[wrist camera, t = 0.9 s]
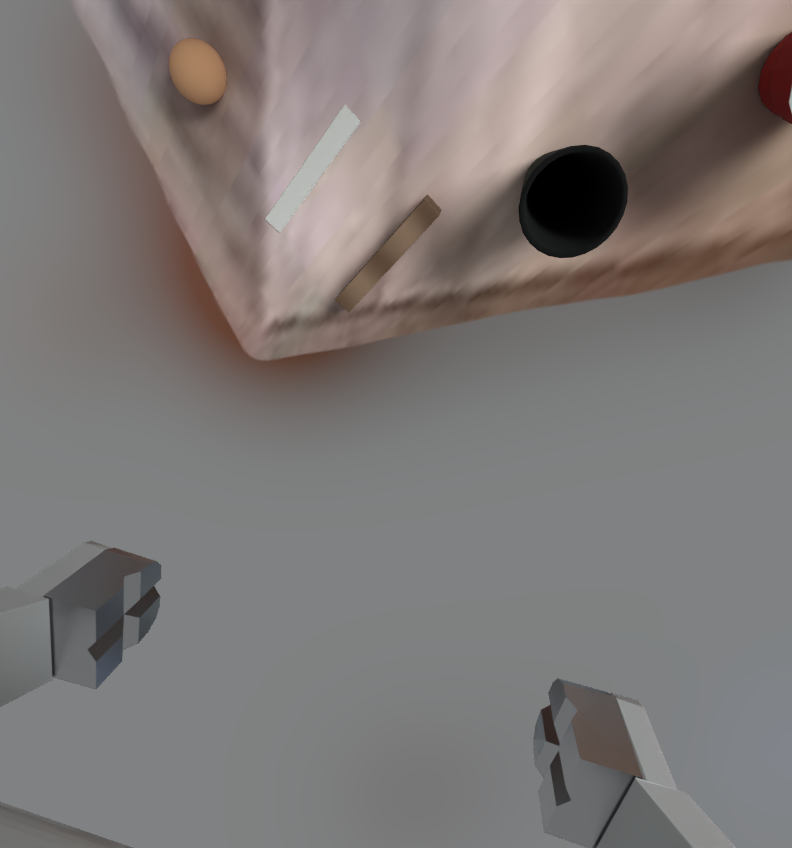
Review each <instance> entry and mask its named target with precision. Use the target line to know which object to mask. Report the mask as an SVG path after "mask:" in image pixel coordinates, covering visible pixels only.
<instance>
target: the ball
mask: <svg viewBox="0 0 792 848" xmlns="http://www.w3.org/2000/svg"><path fill="white" fill-rule="evenodd" d="M169 70H170V75H171V78H172V80H173V82H174V84H175V86H176V88H177V89H178V90H179V92H180V93H181V94H182V95H183V96H184V97H186V98H187V99H188V100H190V101H192V102H194V103H196V104H200V105H209V104H213V103H215V102H216V101H218V100H219V99H220V98H221V97H222V95H223V94H224V91H225V89H226V84H227V75H226V70H225V66H224V64H223V61H222V59H221V58H220V56H219V55H218V53H217V52H216V51H215V50H214V49H213V48H212V47H211V46H210V45H209V44H207V43H206V42H204V41H202V40H199V39H195V38H188V39H184V40H181V41H180V42H178V43H177V44H176V45H175V46H174V47H173V49H172V51H171V54H170V57H169Z"/></svg>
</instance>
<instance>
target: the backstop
mask: <svg viewBox="0 0 792 848" xmlns="http://www.w3.org/2000/svg"><path fill="white" fill-rule="evenodd" d="M440 212H441V209H440V208H439V207H438V206H437V204H436V203H435V202H434V201H433V200H432V199H431V198H430V197H429V196H428V195H427V196H426V197H425V198H424V200H423V201H422V202H421V203H420V204H419V205H418V206H417V207H416V209H415V210H414V211H413V212H412V213H411V214H410V215H409V216H408V218H407V219H406V220H405V221H404V222H403V223H402V224H401V225H400V227H399V228H398V229H397V230H396V231H395V232H394V233H393V234H392V236H391V237H390V238H389V239H388V240H387V241H386V242H385V243H384V245H383V246H382V247H381V248H380V249H379V250H378V251H377V252H376V254H375V255H374V256H373V257H372V258H371V259H370V260H369V261H368V263H367V264H366V265H365V266H364V267H363V268H362V269H361V270H360V272H359V273H358V274H357V275H356V276H355V277H354V278H353V279H352V281H351V282H350V283H349V284H348V285H347V286H346V287H345V288H344V290H343V291H342V292H341V293H340V294H339V296H338V297H337V298H336V299H335V300H336V301H337V302H338V303H339V304H340V305H341V306H342V307H343V308H344V309H346V310H347V311H348V312H350V311H351V310H352V308H353V307H354V306H355V305H356V304H357V303H358V302H359V301H360V300H361V299H362V298H363V297H364V296H365V295H366V293H367V292H368V291H369V290H370V289H371V288H372V287H373V286H374V285H375V284H376V283H377V282H378V281H379V279H380V278H381V277H382V276H383V275H384V274H385V273H386V272H387V271H388V270H389V269H390V268H391V267H392V265H393V264H394V263H395V262H396V261H397V260H398V259H399V258H400V257H401V256H402V255H403V254H404V253H405V252H406V250H407V249H408V248H409V247H410V246H411V245H412V244H413V243H414V242H415V241H416V240H417V239H418V238H419V236H420V235H421V234H422V233H423V232H424V231H425V230H426V229H427V228H428V227H429V226H430V225H431V224H432V223H433V221H434V220H435V219H436V218H437V217H438V216H439V215H440Z"/></svg>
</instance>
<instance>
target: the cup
mask: <svg viewBox="0 0 792 848" xmlns="http://www.w3.org/2000/svg"><path fill="white" fill-rule="evenodd" d="M627 195H628V185H627V181H626V176H625V173H624V171H623V169H622V167H621V165H620V163H619V162H618V161H617V160H616V159H615V158H614V157H613V156H612V155H611V154H610V153H608V152H606V151H604V150H602V149H601V148H599V147H594V146H588V145H579V146H570V147H567V148H563V149H559V150H556V151H552V152H549V153H547V154H544V155H543V156H541V157H540V158H538V159H537V160H536V161H535V162H534V163H533V164H532V165H531V167H530V168H529V170H528V171H527V174H526V176H525V179H524V183H523V188H522V192H521V198H520V204H519V221H520V224H521V228H522V231H523V233H524V235H525V237H526V238H527V240H528V241H529V243H530V244H531V245H532V246H534V247H535V248H536V249H537V250H538V251H540V252H542V253H544V254H546V255H548V256H553V257H558V258H569V257H575V256H579V255H582V254H585V253H587V252H589V251H591V250H593V249H595V248H597V247H598V246H599V245H600V244H602V243H603V242H604V241H605V240H607V239H608V238H609V236H610V235H611V234H612V233H613V231H614V230H615V229H616V228H617V226H618V224H619V222H620V220H621V218H622V217H623V214H624V211H625V207H626V204H627Z"/></svg>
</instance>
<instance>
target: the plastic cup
mask: <svg viewBox="0 0 792 848" xmlns="http://www.w3.org/2000/svg"><path fill="white" fill-rule="evenodd" d="M758 89H759V93H760V96H761V100H762V102H763V104H764V105H765V106H766V107H767V108H768V109H769V110H770V111H771V112H772V113H774V114H776V115H779V116H781V117H782V118H783V119H784V120H785V121H787V122H789V123H791V124H792V32H791V33H790V34H788V35H787V36H786V37H785V38H784V39H783V40H782V41H781V42H780V43H779V44H778V46H777V47H776V48H775V49H774V50H773V51H772V52H771V53H770V55H769V56H768V58H767V60H766V62H765V64H764V66H763V68H762V70H761V74H760V80H759V87H758Z"/></svg>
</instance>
